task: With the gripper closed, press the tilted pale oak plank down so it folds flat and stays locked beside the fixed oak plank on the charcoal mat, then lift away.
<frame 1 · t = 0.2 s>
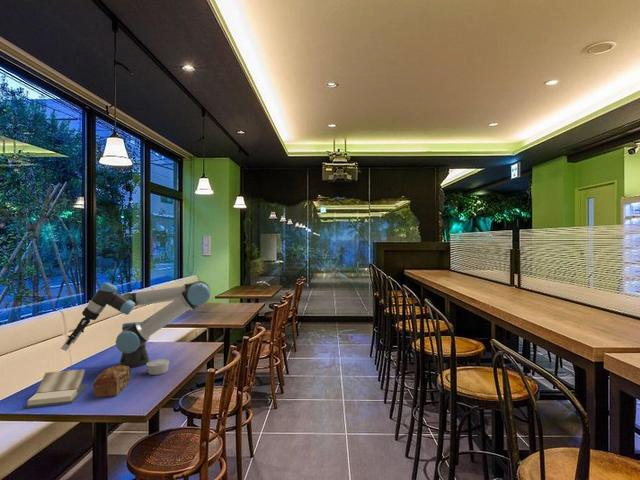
hand: (67, 345, 203), 16 cm above the table, tool tilted 35°, fingers open, 13 cm apart
floor base: (58, 396, 177), on the table
ramekin: (158, 372, 208), on the table
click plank: (61, 382, 181), point 5 cm above the table, hinge at 30.0°
bread: (112, 390, 184), on the table
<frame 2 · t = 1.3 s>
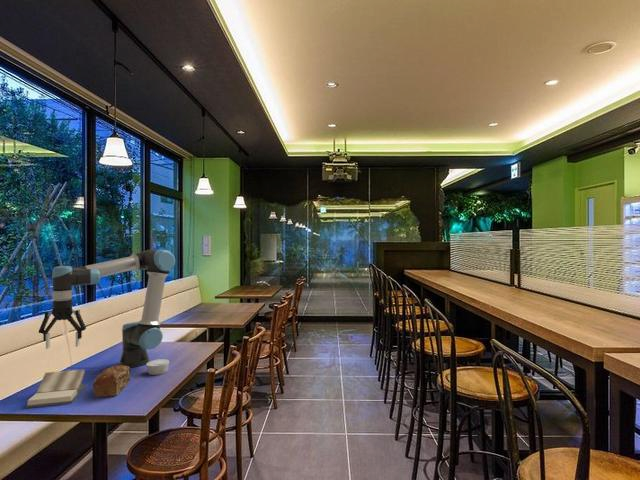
hand: (62, 346, 183), 20 cm above the table, tool pointing down, fingers open, 11 cm apart
nothing on the table moved.
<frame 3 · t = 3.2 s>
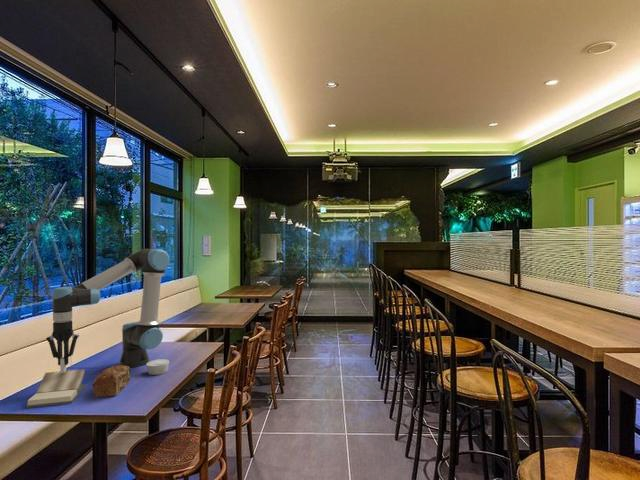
hand: (63, 372, 183), 9 cm above the table, tool pointing down, fingers closed
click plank: (61, 382, 181), point 5 cm above the table, hinge at 29.9°, touching gripper
everything else where it was.
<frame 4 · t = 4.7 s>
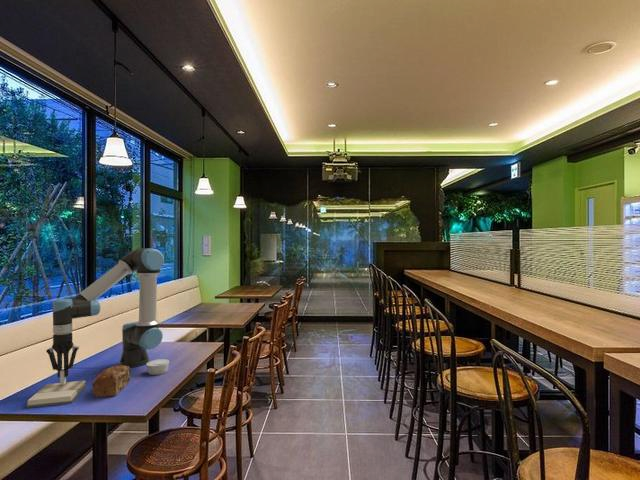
hand: (63, 384, 183), 3 cm above the table, tool pointing down, fingers closed
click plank: (62, 388, 181), point 2 cm above the table, hinge at -0.3°, touching floor base, gripper
everything else where it was.
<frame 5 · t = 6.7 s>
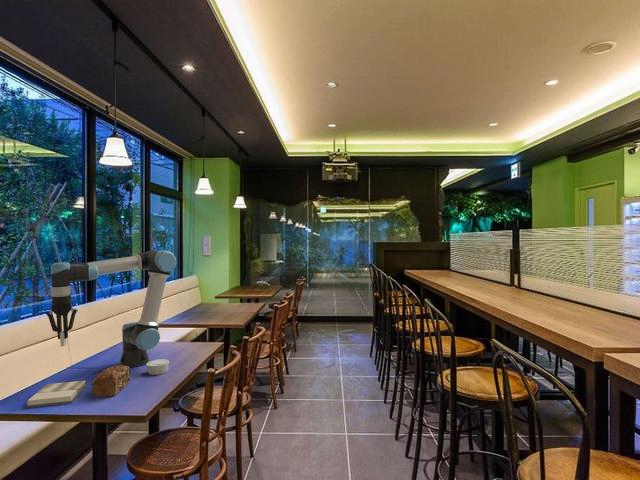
hand: (63, 345, 187), 20 cm above the table, tool pointing down, fingers closed
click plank: (62, 388, 181), point 2 cm above the table, hinge at -0.3°, touching floor base
everything else where it was.
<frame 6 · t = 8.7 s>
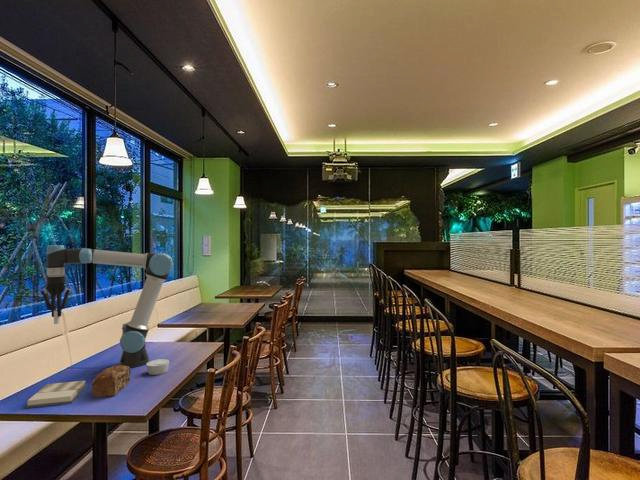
hand: (56, 323, 198), 28 cm above the table, tool pointing down, fingers closed
nothing on the table moved.
at the end: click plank at +0° (first picture: +30°); bread moved 0.6 cm from its start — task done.
